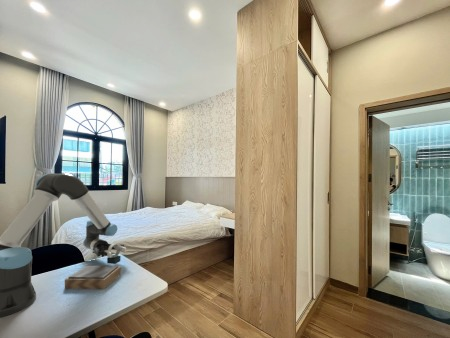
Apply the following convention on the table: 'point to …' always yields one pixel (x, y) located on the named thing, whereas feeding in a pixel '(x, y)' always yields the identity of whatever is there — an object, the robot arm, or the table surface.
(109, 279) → the riser
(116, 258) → the watch
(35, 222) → the robot arm
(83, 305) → the table surface
